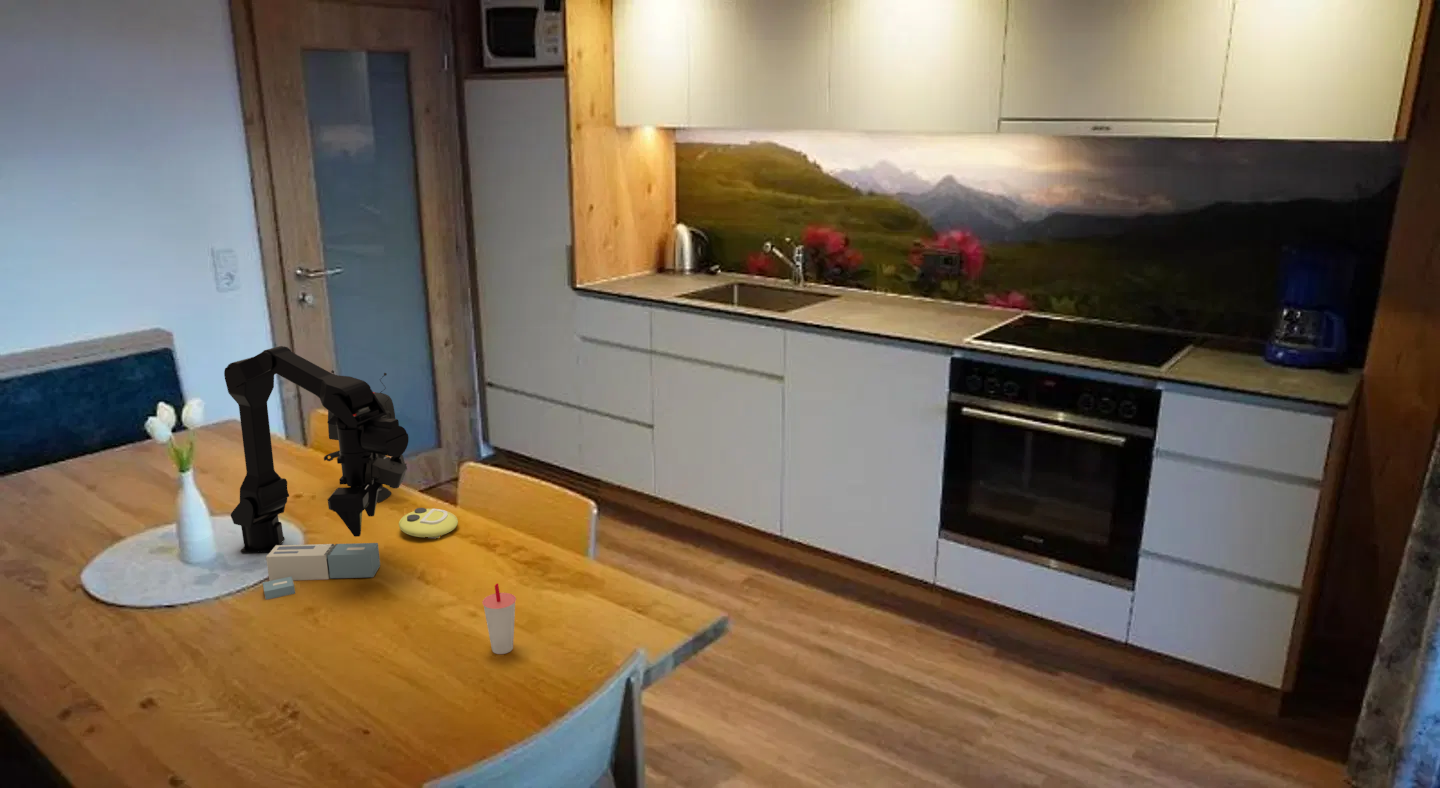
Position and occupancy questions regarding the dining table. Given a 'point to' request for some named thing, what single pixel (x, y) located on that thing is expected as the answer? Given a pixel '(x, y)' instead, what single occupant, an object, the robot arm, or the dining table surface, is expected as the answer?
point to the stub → (354, 560)
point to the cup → (500, 620)
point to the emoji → (428, 523)
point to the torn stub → (278, 588)
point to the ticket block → (299, 562)
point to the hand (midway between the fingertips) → (364, 525)
